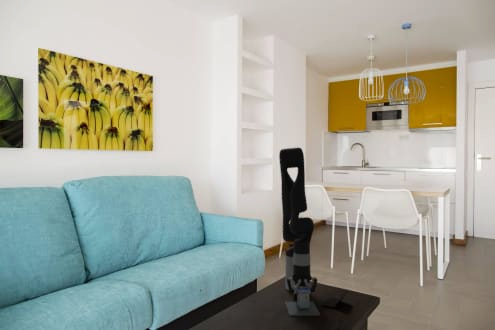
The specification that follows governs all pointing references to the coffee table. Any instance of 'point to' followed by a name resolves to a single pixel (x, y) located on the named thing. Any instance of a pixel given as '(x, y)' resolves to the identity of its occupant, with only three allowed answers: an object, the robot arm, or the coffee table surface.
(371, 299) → the coffee table surface
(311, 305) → the rubber mat
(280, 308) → the coffee table surface
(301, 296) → the medicine box
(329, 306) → the handheld gaming console
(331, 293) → the coffee table surface
